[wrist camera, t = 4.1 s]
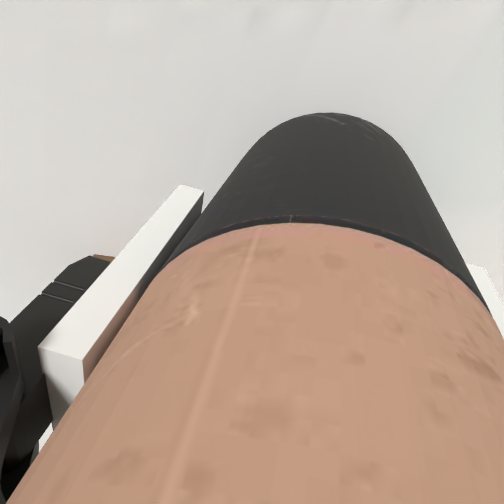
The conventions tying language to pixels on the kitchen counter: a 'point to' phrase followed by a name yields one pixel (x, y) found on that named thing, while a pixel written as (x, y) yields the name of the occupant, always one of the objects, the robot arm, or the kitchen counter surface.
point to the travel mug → (296, 348)
